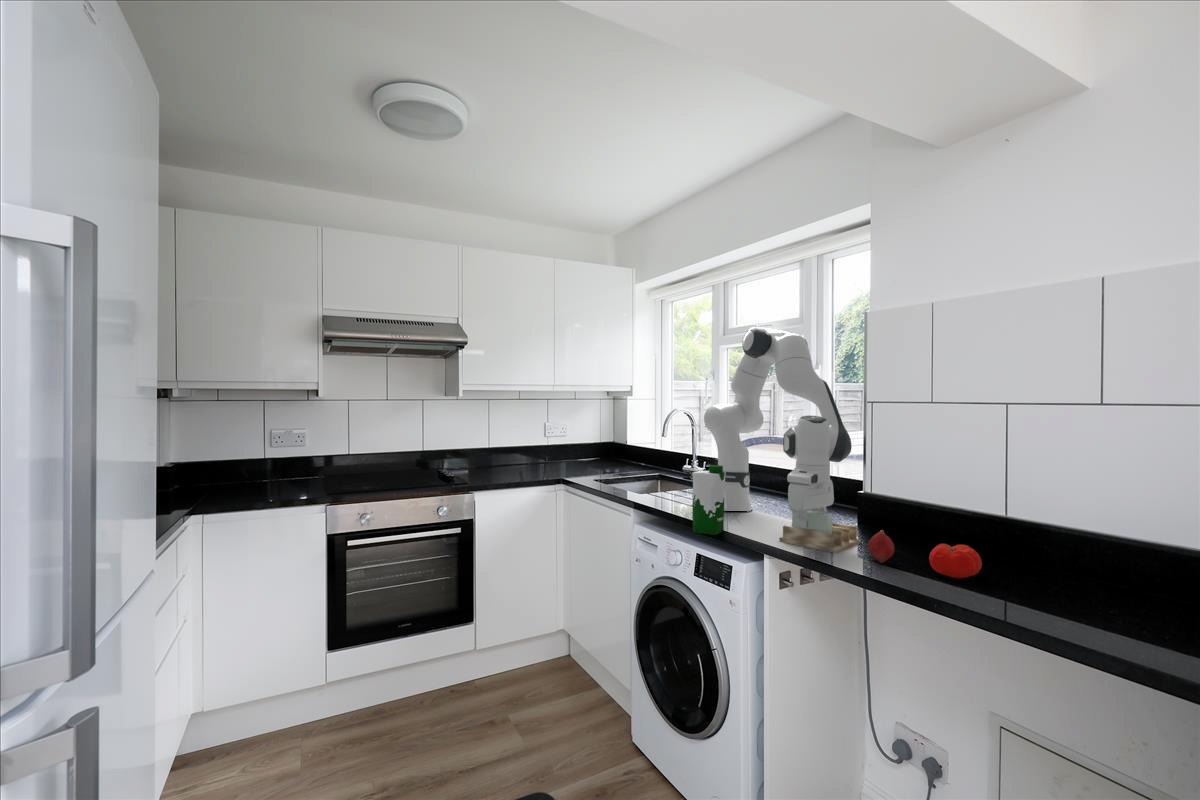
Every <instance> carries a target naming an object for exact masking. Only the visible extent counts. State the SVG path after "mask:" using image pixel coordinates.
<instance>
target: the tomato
mask: <svg viewBox="0 0 1200 800" xmlns="http://www.w3.org/2000/svg"><path fill="white" fill-rule="evenodd" d="M928 559H929V565H930V567H931V568H932V569H933V570H934V571H935V572H936V573H938V574H940V575H944V576H947V577H950V578H953V579H965V578H968V577H973V576H975V575H977V574H979V572H980V571H981V569H982V565H983V562H982V558H981V556H980V554H979V553H978V552H977V551H976V550H975V549H973V548H972V547H971V546H969V545H966V544H956V545H953V546H951V545H949V544H947V543H939V544H938V545H936V546H935V547H934V548H932V550H931V551H930V553H929V557H928Z"/></svg>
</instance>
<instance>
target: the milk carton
mask: <svg viewBox="0 0 1200 800" xmlns="http://www.w3.org/2000/svg"><path fill="white" fill-rule="evenodd" d="M708 467H709V468H708V470H698V471H694V472H692V503H693V505H692V532H693V533H697V534H703V535H704V534H705V535H710V536H711V535H712V536H717V535H719V534H720V533H722V532H723V531H724V526H725V525H724V524H725V523H724V522H725V512H724V493H725V475H726V472H723V466H720V465H718V464H717V465H716V464H715V465H714V464H710V465H708ZM722 530H723V531H722Z"/></svg>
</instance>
